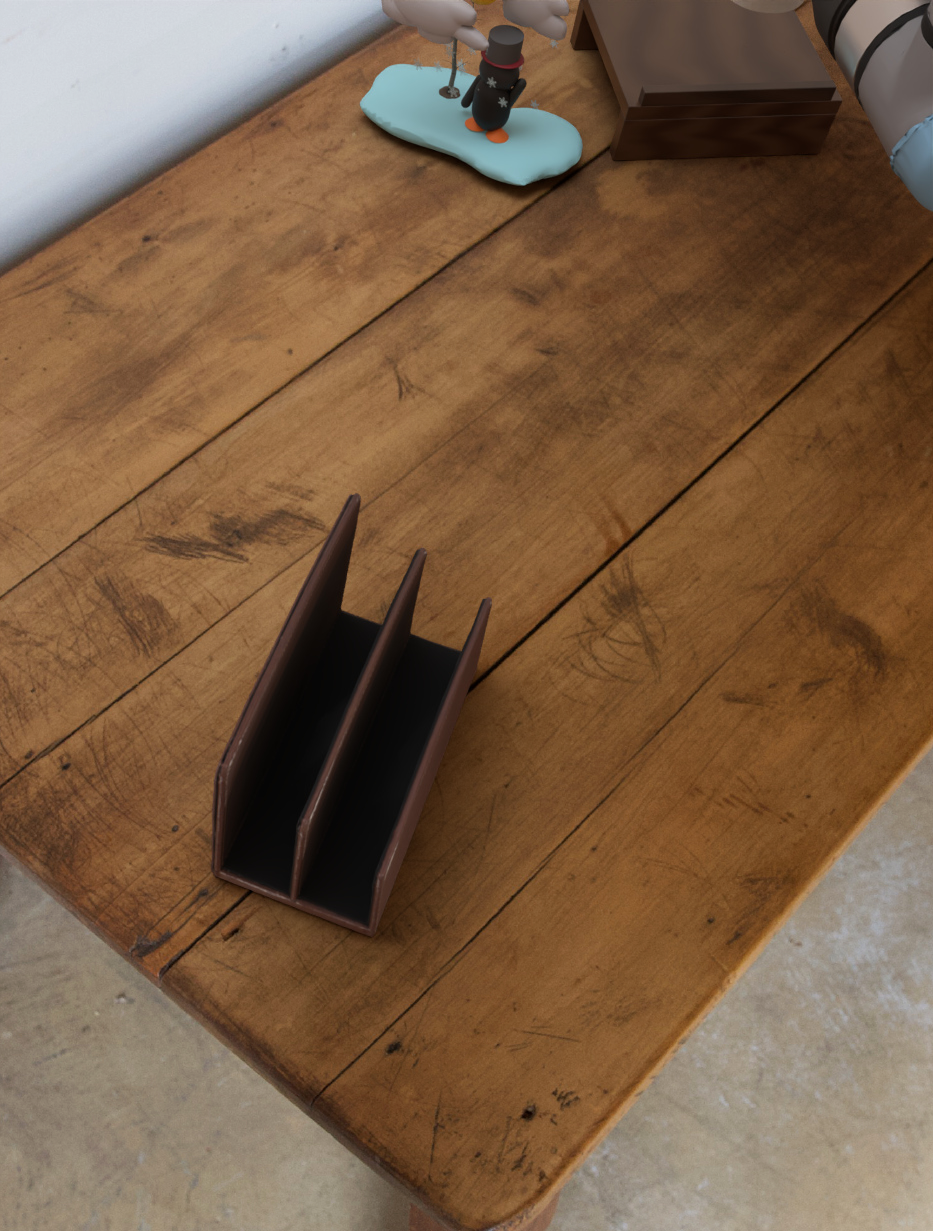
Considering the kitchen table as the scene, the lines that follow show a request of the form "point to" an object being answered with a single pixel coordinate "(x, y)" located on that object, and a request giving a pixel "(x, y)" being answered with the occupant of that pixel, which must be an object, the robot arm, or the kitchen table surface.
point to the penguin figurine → (476, 92)
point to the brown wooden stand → (708, 78)
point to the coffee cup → (769, 5)
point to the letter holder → (338, 746)
